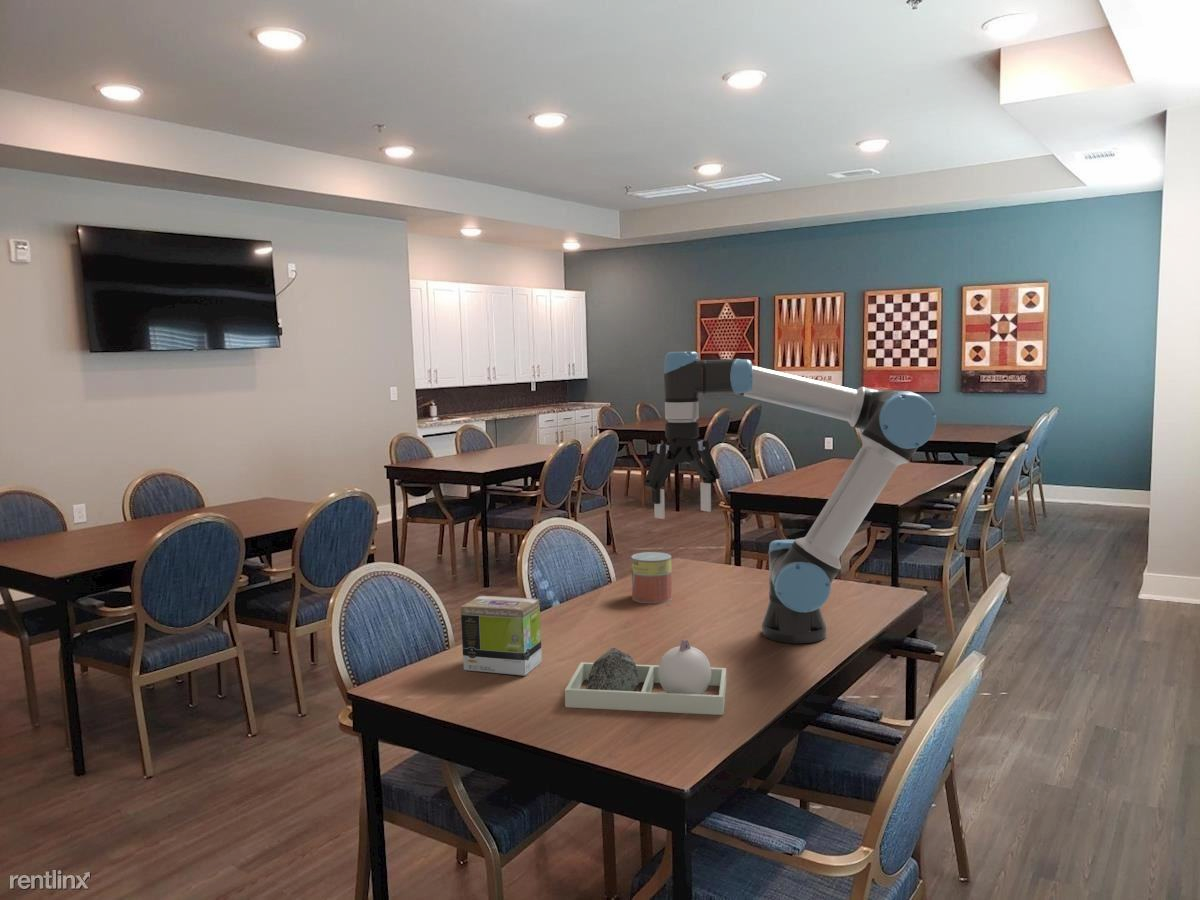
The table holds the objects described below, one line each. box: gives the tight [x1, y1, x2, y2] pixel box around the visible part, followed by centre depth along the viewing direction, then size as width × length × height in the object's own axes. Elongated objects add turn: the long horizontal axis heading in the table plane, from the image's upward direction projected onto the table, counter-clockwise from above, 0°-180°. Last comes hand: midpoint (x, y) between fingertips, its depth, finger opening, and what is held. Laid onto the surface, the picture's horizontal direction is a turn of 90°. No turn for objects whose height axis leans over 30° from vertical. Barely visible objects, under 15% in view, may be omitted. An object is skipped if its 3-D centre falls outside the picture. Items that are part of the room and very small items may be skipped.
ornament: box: [658, 638, 712, 695], centre depth 173 cm, size 10×10×12 cm
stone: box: [584, 647, 640, 691], centre depth 177 cm, size 10×10×10 cm
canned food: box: [630, 551, 673, 604], centre depth 246 cm, size 11×11×12 cm
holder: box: [564, 661, 727, 716], centre depth 175 cm, size 30×16×4 cm, turn 80°
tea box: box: [460, 595, 543, 677], centre depth 193 cm, size 15×10×15 cm, turn 71°
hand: (683, 514), depth 198 cm, fingers open, 13 cm apart
